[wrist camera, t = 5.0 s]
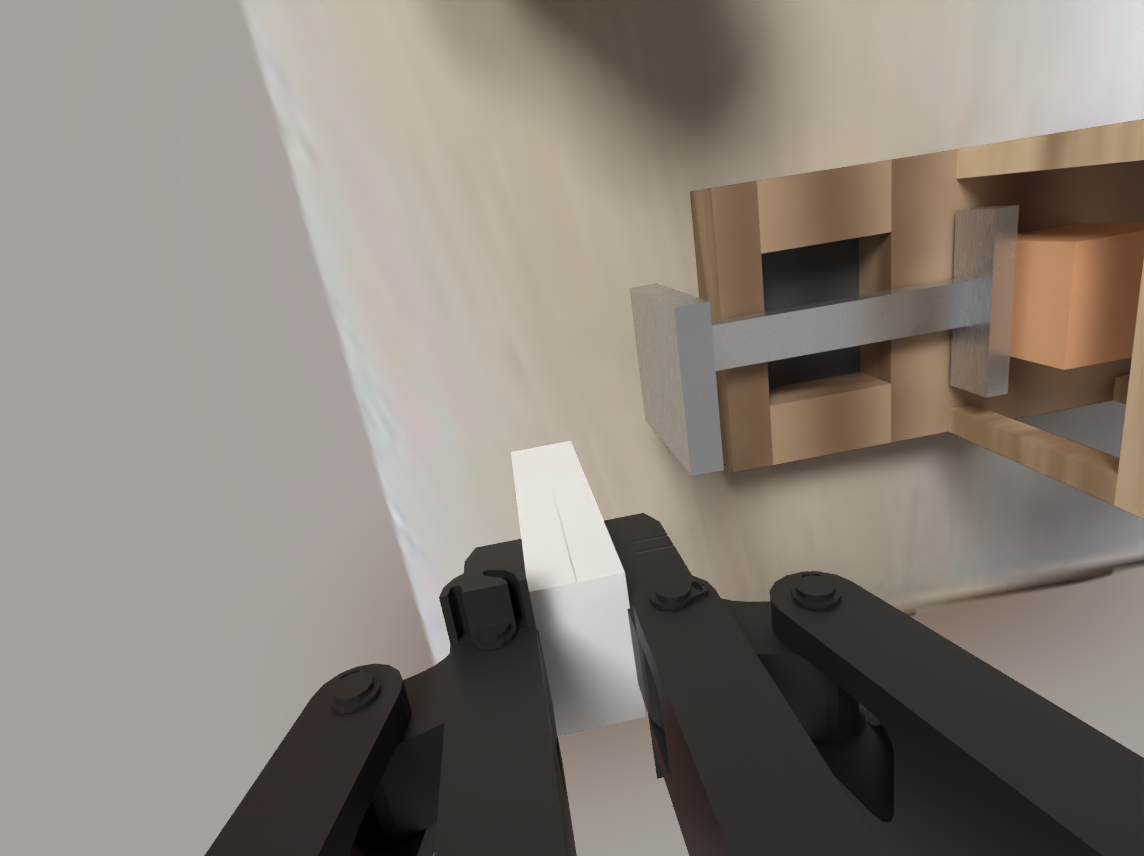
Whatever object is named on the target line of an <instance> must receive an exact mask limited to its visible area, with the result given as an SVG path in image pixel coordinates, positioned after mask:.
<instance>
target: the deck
mask: <svg viewBox="0 0 1144 856" xmlns="http://www.w3.org/2000/svg"><path fill="white" fill-rule="evenodd" d="M956 173H957V149H956V150H950V151H944V152H937V153H931V154H925V155H918V156H912V157H906V158H899V159H893V160H887V161H880V162H874V163H868V164H861V165H855V166H849V167H842V168H836V169H830V170H823V171H817V172H811V173H804V174H798V175H792V176H785V177H779V178H773V179H766V180H760V181H754V182H747V183H741V184H735V185H728V186H722V187H716V188H709V189H703V190H697V191H691V192H690V196H691V207H692V219H693V230H694V241H695V253H696V264H697V275H698V287H699V298H700V299H703V300H706V301H709V302H710V309H711V321H715V320H721V319H727V318H733V317H738V316H744V315H750V314H756V313H761V312H767V311H773V310H779V309H784V308H790V307H796V306H802V305H808V304H813V303H819V302H825V301H831V300H836V299H842V298H848V297H854V296H860V295H865V294H871V293H877V292H883V291H888V290H894V289H900V288H906V287H912V286H917V285H923V284H929V283H935V282H940V281H946V280H952V279H954V248H955V217H956V210H960V209H966V208H972V207H983V206H1009V205H1019V215H1018V231H1017V234H1019V233H1025V232H1031V231H1037V230H1042V229H1048V228H1054V227H1060V226H1066V225H1072V224H1078V223H1096V222H1144V160H1139V161H1129V162H1119V163H1109V164H1099V165H1089V166H1079V167H1069V168H1059V169H1049V170H1039V171H1029V172H1019V173H1009V174H999V175H989V176H979V177H969V178H959V179H956ZM951 341H952V329H948V330H942V331H937V332H931V333H925V334H920V335H914V336H909V337H903V338H897V339H892V340H886V341H881V342H875V343H869V344H864V345H858V346H853V347H847V348H842V349H836V350H830V351H825V352H819V353H814V354H808V355H802V356H797V357H791V358H786V359H780V360H774V361H769V362H763V363H758V364H752V365H746V366H741V367H735V368H730V369H724V370H719V371H716V382H717V394H718V406H719V418H720V430H721V442H722V454H723V463H724V464H725V465H726V466H727V467H728V468H729V469H730V470H731V471H732V472H733V473H734V472H739V471H744V470H750V469H755V468H760V467H765V466H771V465H776V464H781V463H786V462H791V461H797V460H802V459H807V458H812V457H818V456H823V455H828V454H833V453H839V452H844V451H849V450H854V449H860V448H865V447H870V446H875V445H881V444H886V443H891V442H896V441H902V440H907V439H912V438H917V437H922V436H928V435H933V434H938V433H943V432H948V424H949V408H954V407H960V406H965V405H970V404H973V405H976V406H978V407H981V408H984V409H987V410H989V411H992V412H995V413H997V414H1000V415H1003V416H1006V417H1008V418H1011V419H1017V418H1022V417H1027V416H1032V415H1038V414H1043V413H1048V412H1053V411H1059V410H1064V409H1069V408H1074V407H1080V406H1085V405H1090V404H1095V403H1101V402H1106V401H1111V400H1113V393H1114V384H1115V377H1119V376H1124V375H1130V369H1131V361H1132V357H1131V358H1125V359H1120V360H1115V361H1109V362H1104V363H1099V364H1093V365H1088V366H1082V367H1077V368H1072V369H1066V370H1063V369H1059V368H1055V367H1051V366H1047V365H1043V364H1039V363H1035V362H1031V361H1027V360H1023V359H1019V358H1015V357H1011V356H1010V363H1009V379H1008V394H1003V395H998V396H993V397H987V398H986V397H983V396H980V395H977V394H975V393H972V392H969V391H966V390H963V389H960V388H957V387H954V386H951V385H950V373H951Z"/></svg>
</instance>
